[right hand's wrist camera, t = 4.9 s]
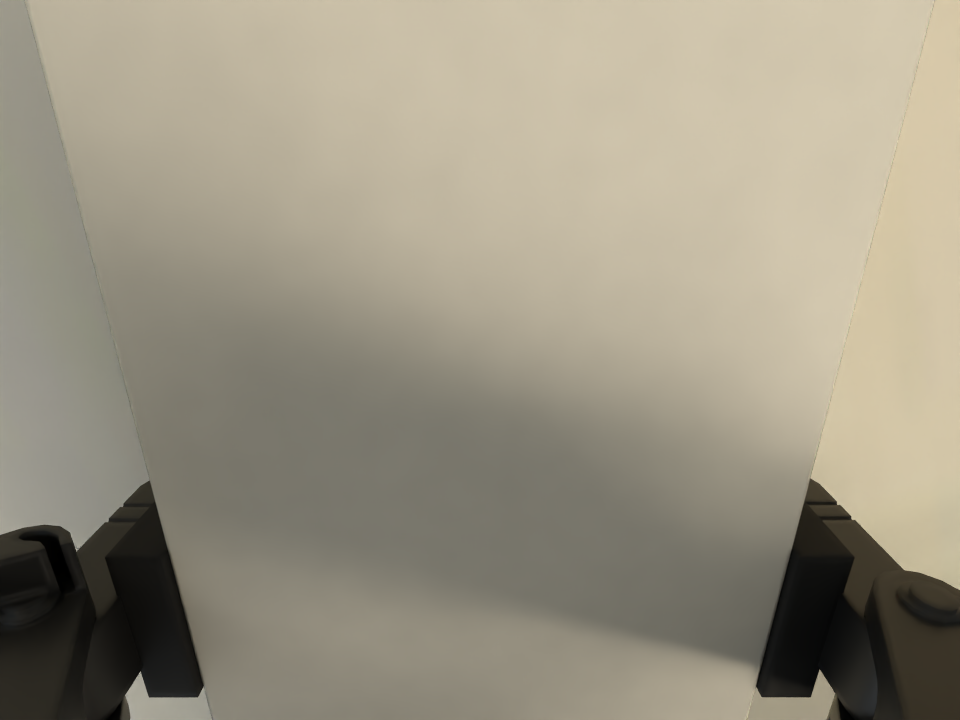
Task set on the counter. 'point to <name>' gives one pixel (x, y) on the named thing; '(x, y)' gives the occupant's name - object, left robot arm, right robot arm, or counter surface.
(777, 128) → the wide beam
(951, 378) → the counter surface
